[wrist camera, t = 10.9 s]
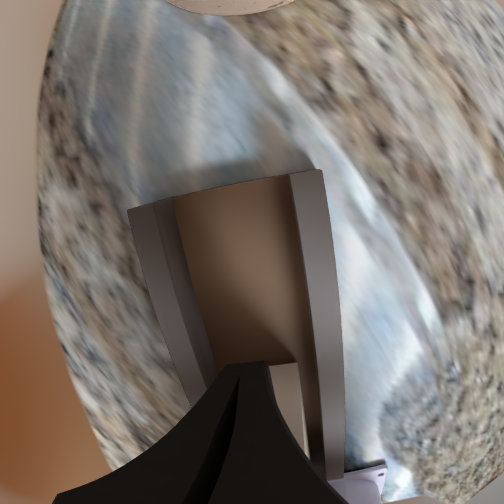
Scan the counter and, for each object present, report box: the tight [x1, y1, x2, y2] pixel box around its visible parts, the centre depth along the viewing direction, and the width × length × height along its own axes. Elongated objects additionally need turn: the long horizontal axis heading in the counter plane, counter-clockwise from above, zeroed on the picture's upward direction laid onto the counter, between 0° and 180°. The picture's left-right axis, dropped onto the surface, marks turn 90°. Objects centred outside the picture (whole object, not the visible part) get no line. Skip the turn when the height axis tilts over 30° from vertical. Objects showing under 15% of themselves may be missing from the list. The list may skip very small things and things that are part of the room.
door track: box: [127, 169, 345, 481], centre depth 12 cm, size 16×7×4 cm, turn 11°
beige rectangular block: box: [269, 362, 310, 460], centre depth 10 cm, size 3×7×7 cm, turn 11°
